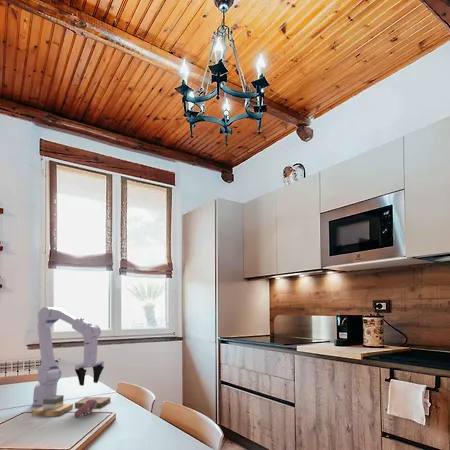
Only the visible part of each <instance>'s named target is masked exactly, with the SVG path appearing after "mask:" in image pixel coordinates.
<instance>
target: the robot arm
mask: <svg viewBox="0 0 450 450" xmlns="http://www.w3.org/2000/svg"><path fill="white" fill-rule="evenodd" d="M37 318H38V322H37V335H38V341H39V344H38V345H39V352H40V359H41V364H40V365H39V366H38V368H37V375H36V377H37V378H36V379H37V382H38V383H37V384H35V386H34V388H33V394H32V395H33V397H32V404H31V405H32V406H43V399H45V398H48V397H50V396H52V395H57V391H58V383H59V380H60V379H61V377H62V370H61V369H60V366H59V363H58V362H57V361H56V360H55V356H54V347H53V340H52V339H53V338H52V333H51V332H52V331H51V327H52V326H53V325H55V323H56V322H58V321H59V320H62V321H64V322H65V323H67V324H69V325H71V328H72V329H73V330H74V331H75V332H77V333H80V334H81V335H82V337H83V343H84V346H83V347H84V349H83V360H82V361H83V362H82V363H81V362H80V363H76V364H74V372H75V373H76V376H77V378H78V384H79V386H84V385H85V377H86V372H87V368H92V370H93V371H92V372H93V384H94V383H95V384H98V382H99V380H100V376H101V374H102V371H103V370H104V368H105V361H104V360H99V361H97V359H98V342H99V341H98V340H99V339H98V338H99V337H100V335H101V332H102V331H101V328H100V326H98V324H94V325H93V324H92V323H91V322H88V321H87V320H85V318H84V317H77V318H76V317H75V316H73V315H71V314H70V313H69V312H68V311H66V310H65V309H64V308H61V307H60V306H43V307H41V308H40V309H39V311H38V313H37Z"/></svg>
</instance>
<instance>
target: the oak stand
mask: <svg viewBox="0 0 450 450" xmlns="http://www.w3.org/2000/svg"><path fill="white" fill-rule="evenodd" d="M73 405H74V404H73V403H63V405H62V406H60V407H58V408H56V409H54V410H43V405H40V406H39V407H37V408H35V409H32V410H31V416H32V417H59V416H58V415H61V414H63V413H64V414H66V413H68V412H70V411H71V410H73V407H74V406H73ZM65 412H66V413H65ZM64 414H63V415H64ZM61 416H62V415H61Z"/></svg>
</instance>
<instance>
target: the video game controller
mask: <svg viewBox="0 0 450 450" xmlns="http://www.w3.org/2000/svg"><path fill="white" fill-rule="evenodd" d="M97 403H98V402H97V401H96V400H93V399H92V400H88V401H86V402H85V403H84V404H83V405H82V406H81V407H80V408H77V409H76V411H74V415H73V416H74V417H75V416H79V417H81V416H82V415H83V414H84V415H83V416H85V414H87V413H88V412H91V413H92V412H93V410H94V409H96V408H95V407H96V405H97ZM88 414H89V413H88ZM88 414H87V415H88Z"/></svg>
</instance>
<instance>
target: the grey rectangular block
mask: <svg viewBox="0 0 450 450" xmlns="http://www.w3.org/2000/svg"><path fill="white" fill-rule="evenodd" d="M64 397H65V396H64V394H63V395H59V394H58V395H57V394H56V395H52V396H50V397H48V398H45V399H43V405H42V406H43V410H54V409H56V408H58V407H60V406H62V405H63V404H64Z"/></svg>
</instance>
